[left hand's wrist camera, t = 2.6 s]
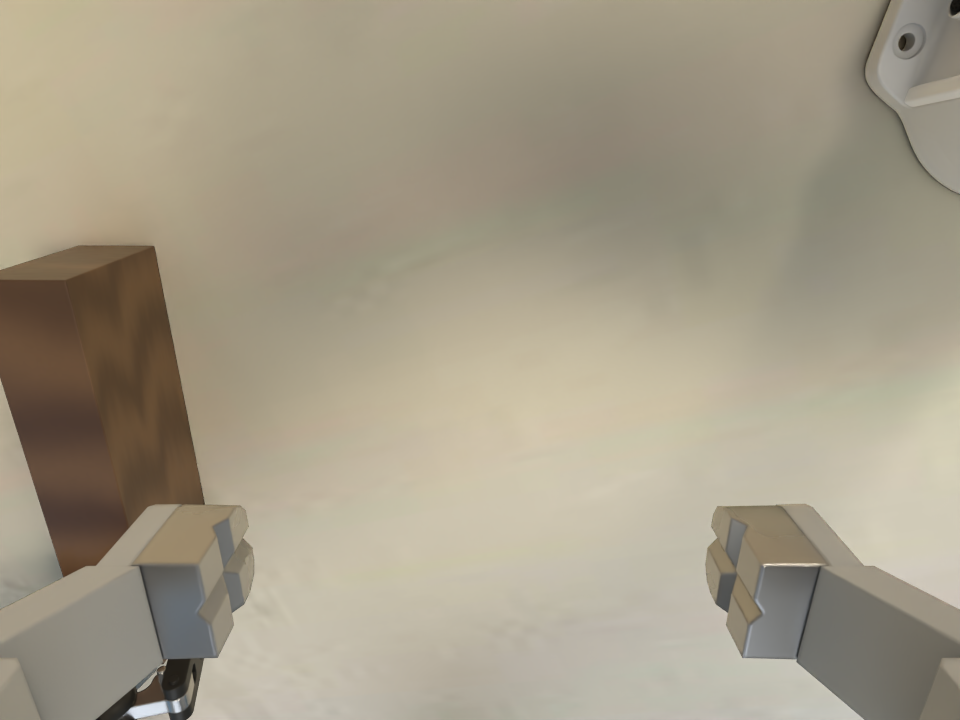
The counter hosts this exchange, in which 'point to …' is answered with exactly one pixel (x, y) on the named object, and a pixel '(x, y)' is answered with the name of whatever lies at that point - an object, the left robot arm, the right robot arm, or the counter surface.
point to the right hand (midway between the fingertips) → (154, 573)
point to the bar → (95, 394)
